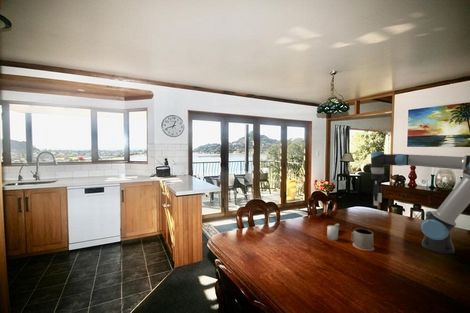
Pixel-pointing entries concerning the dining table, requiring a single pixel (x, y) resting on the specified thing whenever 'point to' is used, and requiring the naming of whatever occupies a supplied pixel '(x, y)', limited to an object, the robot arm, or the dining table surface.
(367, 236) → the planter
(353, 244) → the mat
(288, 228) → the dining table surface
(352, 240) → the cradle
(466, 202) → the robot arm
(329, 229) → the white cylinder
